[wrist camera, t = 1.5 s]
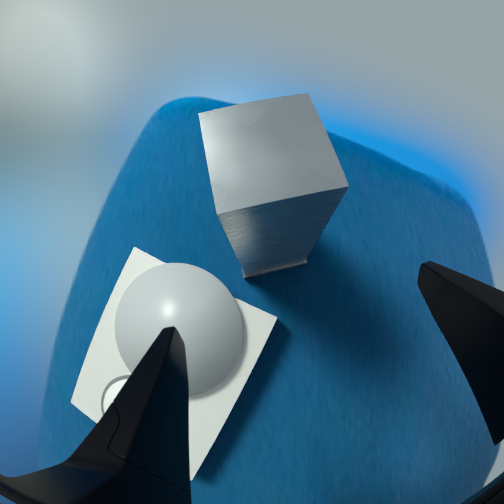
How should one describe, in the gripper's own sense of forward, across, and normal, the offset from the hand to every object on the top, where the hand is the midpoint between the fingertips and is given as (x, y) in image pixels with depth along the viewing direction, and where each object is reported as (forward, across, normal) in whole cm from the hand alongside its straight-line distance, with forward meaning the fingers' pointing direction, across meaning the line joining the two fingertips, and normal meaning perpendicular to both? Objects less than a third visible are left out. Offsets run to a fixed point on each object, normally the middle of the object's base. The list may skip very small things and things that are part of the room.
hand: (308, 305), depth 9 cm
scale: (+7, +10, +10) cm, 16 cm away
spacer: (+12, 0, +4) cm, 13 cm away
